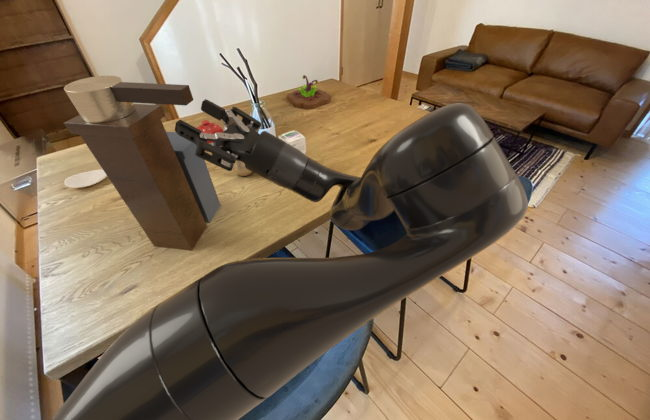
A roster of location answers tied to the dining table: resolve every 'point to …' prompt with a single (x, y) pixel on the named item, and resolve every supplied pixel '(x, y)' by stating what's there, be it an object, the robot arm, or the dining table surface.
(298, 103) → the plant
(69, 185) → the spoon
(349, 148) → the dining table surface
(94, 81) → the milk pan
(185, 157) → the blue-grey block
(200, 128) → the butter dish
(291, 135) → the syrup box
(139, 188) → the tall stand
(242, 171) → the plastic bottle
